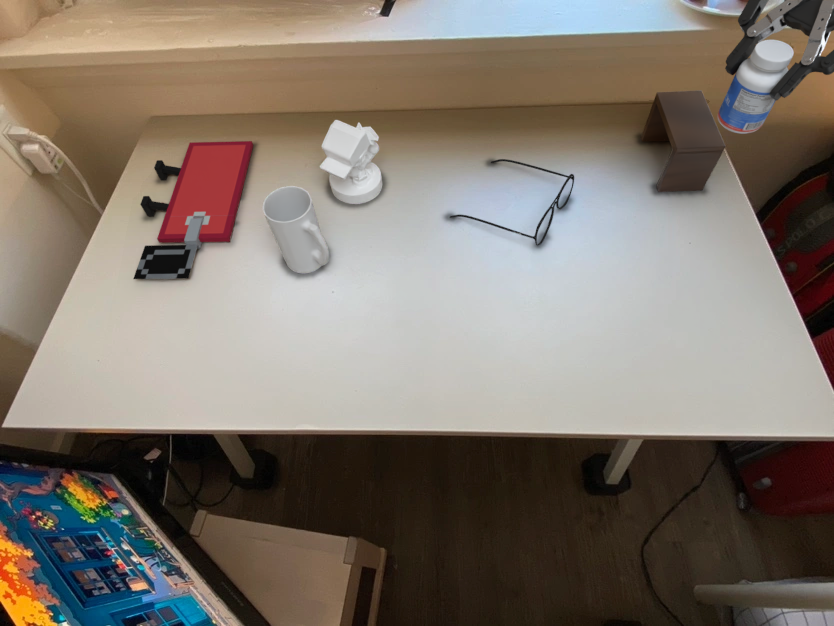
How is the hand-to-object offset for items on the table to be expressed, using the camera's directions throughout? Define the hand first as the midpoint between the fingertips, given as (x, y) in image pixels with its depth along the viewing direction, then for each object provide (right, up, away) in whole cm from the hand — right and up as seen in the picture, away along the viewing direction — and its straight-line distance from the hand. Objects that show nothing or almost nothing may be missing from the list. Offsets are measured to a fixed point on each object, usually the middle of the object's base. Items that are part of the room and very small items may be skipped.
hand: (751, 83), depth 65 cm
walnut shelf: (+3, -2, +28) cm, 28 cm away
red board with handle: (-76, -9, +28) cm, 81 cm away
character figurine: (-49, -6, +29) cm, 57 cm away
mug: (-55, -19, +21) cm, 62 cm away
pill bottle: (+2, -2, +6) cm, 7 cm away
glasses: (-23, -9, +25) cm, 36 cm away
